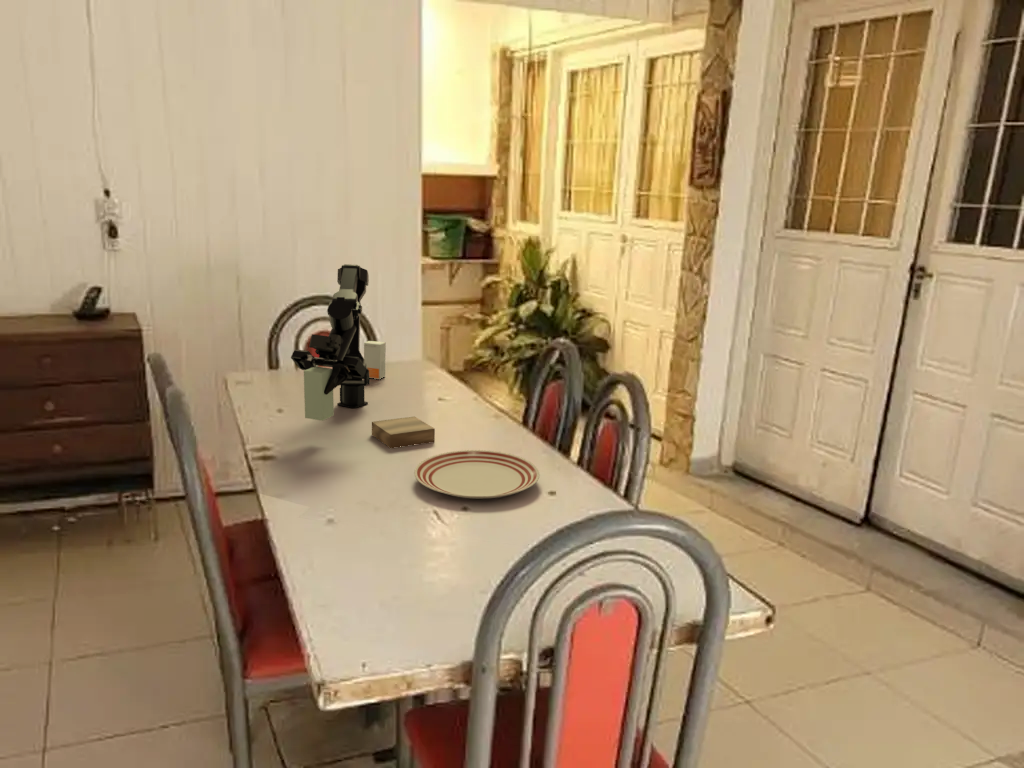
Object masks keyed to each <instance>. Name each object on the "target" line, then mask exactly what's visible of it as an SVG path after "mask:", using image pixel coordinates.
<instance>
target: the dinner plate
mask: <svg viewBox="0 0 1024 768" xmlns="http://www.w3.org/2000/svg"><path fill="white" fill-rule="evenodd" d="M413 474H414V477H415V479H416V481H417V482H419V483H420V484H421V485H423V487H426V488H427V489H430V490H432V491H434V492H436V493H437V492H438V493H441V494H445V495H449V496H453V497H457V498H464V499H473V500H475V499H477V500H480V499H483V500H484V499H494V498H495V499H496V498H503V497H507V496H511V495H514V494H515V495H516V494H518V493H520V492H523V491H525V490H528V489H529V488H531V487H532V486H534V485H535V484H536V483H537V482H538V481H539V479H540V476H541V474H540V470H539V468H538V467H537V466H536V465H535V464H533V463H532V462H531V461H530V460H528V459H526V458H524V457H521V456H519V455H515V454H511V453H506V452H501V451H494V450H483V449H482V450H480V449H479V450H477V449H475V450H474V449H471V450H469V449H468V450H466V449H465V450H456V451H455V450H454V451H449V452H448V451H447V452H444V453H439V454H435V455H433V456H430V457H428V458H425V459H424V460H422V461H420V462H419V463H418V464H417V465H416V467H415V469H414V472H413Z"/></svg>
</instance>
